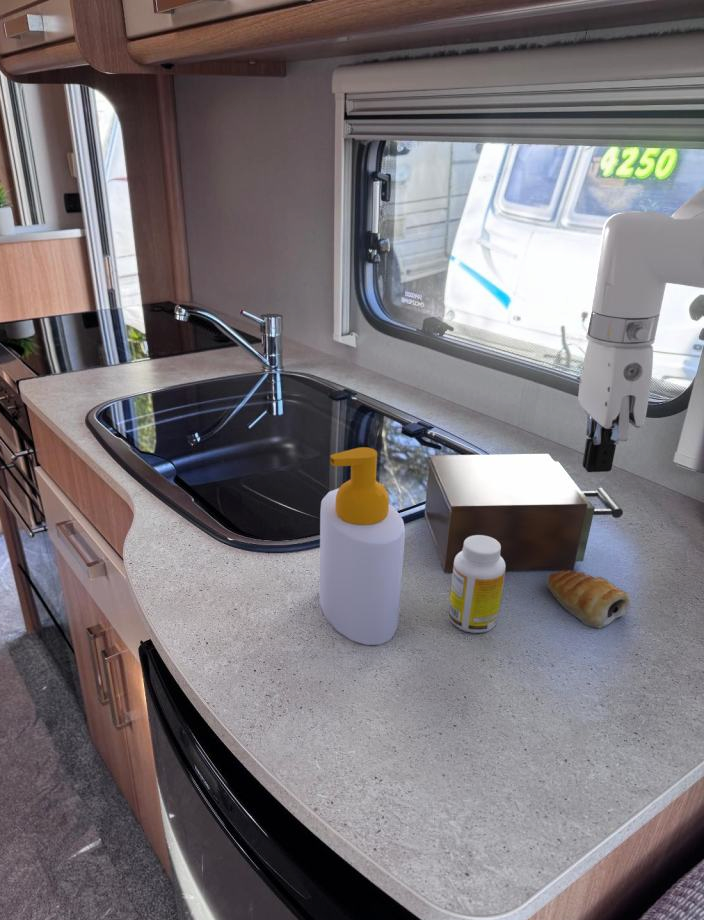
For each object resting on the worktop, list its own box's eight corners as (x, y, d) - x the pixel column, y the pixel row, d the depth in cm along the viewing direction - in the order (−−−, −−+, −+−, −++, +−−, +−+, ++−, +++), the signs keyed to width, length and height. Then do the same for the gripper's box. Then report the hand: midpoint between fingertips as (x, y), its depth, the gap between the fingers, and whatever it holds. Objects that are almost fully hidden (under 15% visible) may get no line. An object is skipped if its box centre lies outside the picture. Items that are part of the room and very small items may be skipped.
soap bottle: (305, 587, 88) (305, 433, 78) (367, 575, 91) (374, 424, 81) (345, 655, 77) (351, 486, 67) (414, 638, 80) (430, 473, 70)
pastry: (532, 593, 87) (537, 567, 86) (568, 576, 91) (573, 550, 89) (597, 634, 81) (604, 606, 79) (633, 613, 84) (641, 586, 82)
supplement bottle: (504, 616, 83) (517, 541, 78) (484, 641, 79) (496, 563, 74) (460, 599, 86) (469, 525, 81) (439, 623, 82) (447, 547, 77)
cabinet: (537, 514, 105) (548, 453, 100) (573, 570, 92) (587, 504, 87) (424, 516, 104) (429, 455, 99) (444, 572, 91) (451, 506, 87)
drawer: (588, 509, 104) (598, 460, 100) (626, 560, 92) (640, 507, 89) (442, 512, 103) (447, 462, 99) (462, 563, 91) (469, 510, 88)
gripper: (684, 343, 78) (651, 494, 87) (626, 310, 91) (602, 444, 100) (616, 346, 78) (589, 497, 86) (567, 312, 91) (548, 447, 100)
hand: (596, 468), depth 93 cm, fingers closed
